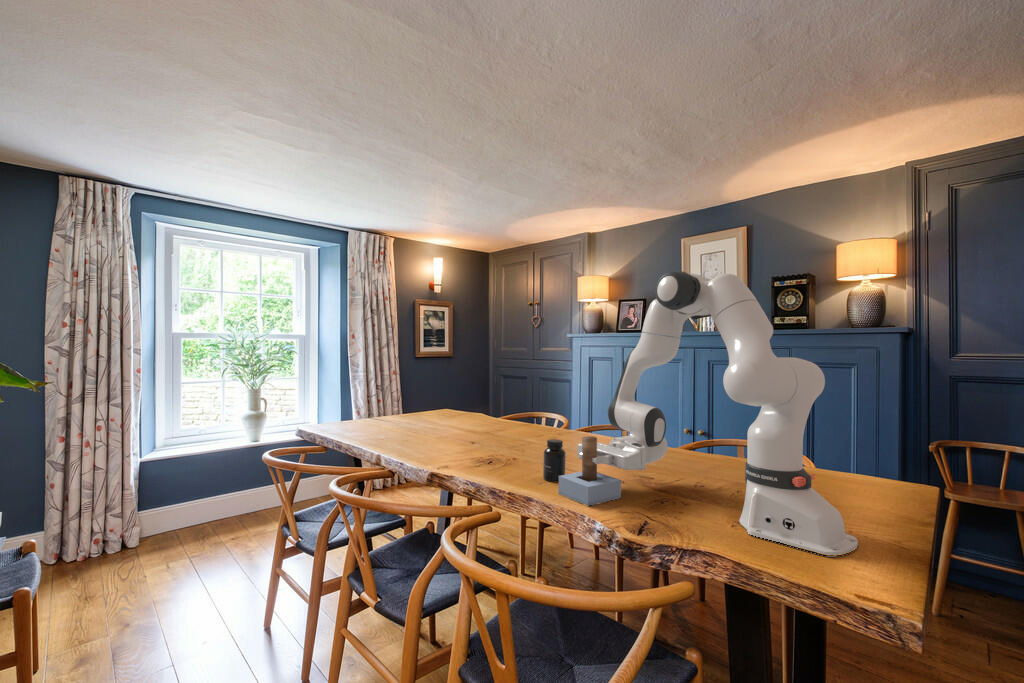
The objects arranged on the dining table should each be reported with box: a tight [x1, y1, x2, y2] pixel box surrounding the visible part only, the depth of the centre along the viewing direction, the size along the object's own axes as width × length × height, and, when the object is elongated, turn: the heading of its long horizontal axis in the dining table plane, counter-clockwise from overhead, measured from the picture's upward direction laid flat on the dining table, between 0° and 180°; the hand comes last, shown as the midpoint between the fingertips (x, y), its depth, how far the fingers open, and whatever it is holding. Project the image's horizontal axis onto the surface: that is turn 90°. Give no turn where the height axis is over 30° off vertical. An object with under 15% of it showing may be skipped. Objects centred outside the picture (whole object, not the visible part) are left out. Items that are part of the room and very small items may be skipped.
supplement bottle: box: [542, 438, 567, 482], centre depth 143 cm, size 7×7×12 cm
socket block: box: [558, 471, 622, 507], centre depth 127 cm, size 12×12×5 cm
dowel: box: [581, 435, 598, 482], centre depth 127 cm, size 4×4×14 cm
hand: (587, 458), depth 126 cm, fingers open, 4 cm apart
